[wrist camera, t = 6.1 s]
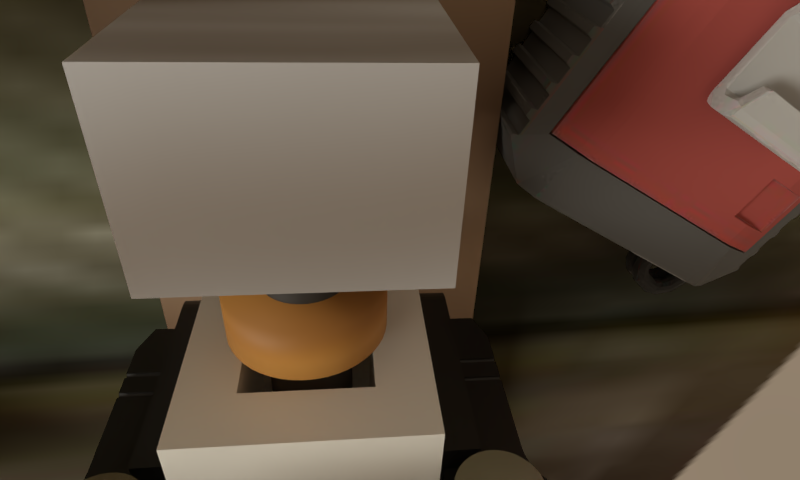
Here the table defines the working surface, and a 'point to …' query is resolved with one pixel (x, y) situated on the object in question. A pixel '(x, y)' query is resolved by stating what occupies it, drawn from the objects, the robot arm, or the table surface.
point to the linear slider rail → (295, 162)
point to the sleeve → (306, 412)
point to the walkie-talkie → (661, 127)
